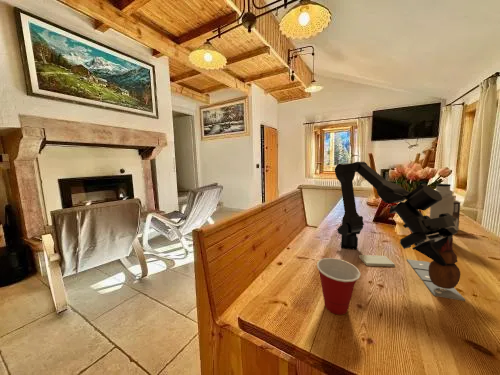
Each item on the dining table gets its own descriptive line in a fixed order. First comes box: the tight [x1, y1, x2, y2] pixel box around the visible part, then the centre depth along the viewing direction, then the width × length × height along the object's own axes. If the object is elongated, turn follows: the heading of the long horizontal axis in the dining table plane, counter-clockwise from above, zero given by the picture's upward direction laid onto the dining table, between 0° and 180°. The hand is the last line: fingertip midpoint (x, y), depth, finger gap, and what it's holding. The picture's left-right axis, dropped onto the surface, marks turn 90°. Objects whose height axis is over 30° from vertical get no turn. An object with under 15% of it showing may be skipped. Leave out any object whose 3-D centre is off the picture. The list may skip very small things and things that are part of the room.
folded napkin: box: [358, 254, 396, 268], centre depth 80 cm, size 10×7×1 cm
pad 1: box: [406, 259, 431, 271], centre depth 75 cm, size 7×7×1 cm
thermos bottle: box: [429, 183, 455, 227], centre depth 98 cm, size 8×8×28 cm
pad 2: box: [413, 269, 432, 282], centre depth 68 cm, size 7×7×1 cm
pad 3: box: [423, 281, 466, 302], centre depth 61 cm, size 7×7×1 cm
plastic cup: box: [316, 257, 361, 316], centre depth 54 cm, size 11×11×12 cm
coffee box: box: [451, 200, 461, 232], centre depth 115 cm, size 9×6×16 cm
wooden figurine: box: [428, 237, 461, 289], centre depth 60 cm, size 7×6×15 cm
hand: (450, 263), depth 59 cm, fingers closed on wooden figurine, 5 cm apart
